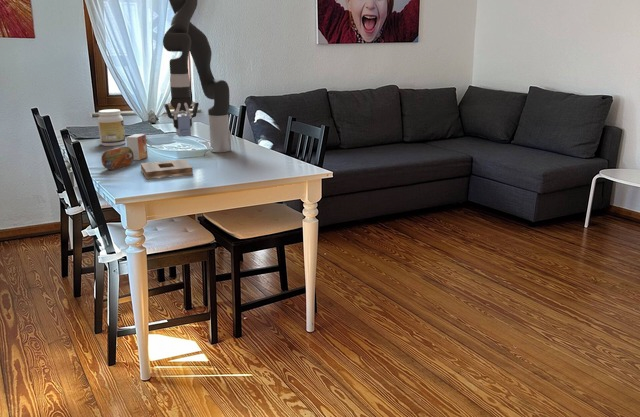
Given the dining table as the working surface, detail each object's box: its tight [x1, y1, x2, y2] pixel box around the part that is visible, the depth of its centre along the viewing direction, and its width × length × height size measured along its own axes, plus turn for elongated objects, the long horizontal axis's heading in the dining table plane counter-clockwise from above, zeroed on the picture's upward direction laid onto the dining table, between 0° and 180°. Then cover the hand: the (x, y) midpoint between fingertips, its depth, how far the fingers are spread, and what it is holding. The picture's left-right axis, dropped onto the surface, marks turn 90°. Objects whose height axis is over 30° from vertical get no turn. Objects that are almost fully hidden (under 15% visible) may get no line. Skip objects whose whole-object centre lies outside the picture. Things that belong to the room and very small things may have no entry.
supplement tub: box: [97, 108, 127, 147], centre depth 294 cm, size 12×12×17 cm
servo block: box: [175, 113, 192, 138], centre depth 237 cm, size 4×9×9 cm, turn 25°
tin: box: [101, 146, 134, 171], centre depth 249 cm, size 15×3×8 cm, turn 148°
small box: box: [125, 133, 148, 161], centre depth 264 cm, size 8×6×10 cm
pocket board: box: [140, 158, 194, 180], centre depth 240 cm, size 18×16×3 cm
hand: (182, 128), depth 238 cm, fingers closed on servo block, 4 cm apart
